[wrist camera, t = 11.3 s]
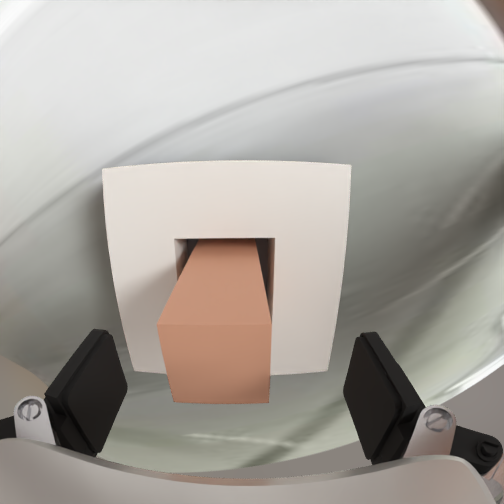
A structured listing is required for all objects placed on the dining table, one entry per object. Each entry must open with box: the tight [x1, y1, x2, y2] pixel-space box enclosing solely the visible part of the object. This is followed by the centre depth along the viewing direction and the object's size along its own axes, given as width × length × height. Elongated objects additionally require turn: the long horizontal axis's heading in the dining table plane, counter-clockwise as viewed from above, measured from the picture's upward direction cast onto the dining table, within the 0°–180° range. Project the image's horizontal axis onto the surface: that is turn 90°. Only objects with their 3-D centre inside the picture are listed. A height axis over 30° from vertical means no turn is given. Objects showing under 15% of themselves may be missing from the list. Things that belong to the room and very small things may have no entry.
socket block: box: [102, 160, 351, 375], centre depth 20 cm, size 15×15×5 cm
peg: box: [157, 238, 272, 404], centre depth 16 cm, size 4×4×12 cm
